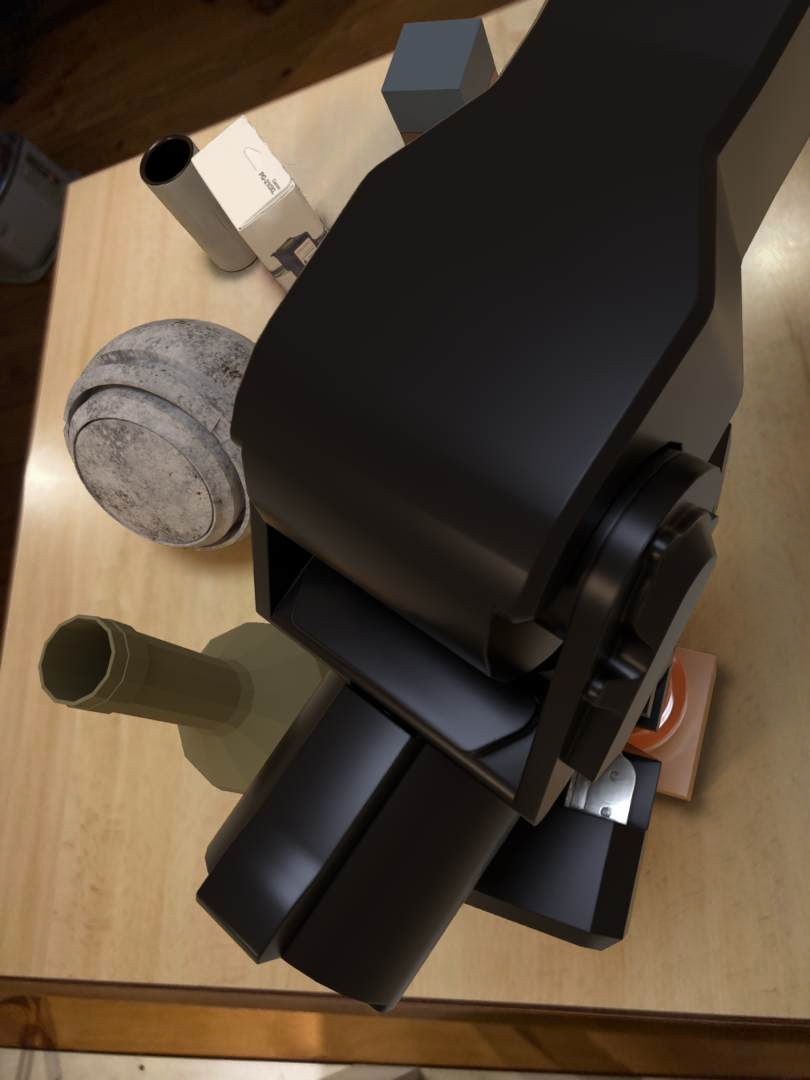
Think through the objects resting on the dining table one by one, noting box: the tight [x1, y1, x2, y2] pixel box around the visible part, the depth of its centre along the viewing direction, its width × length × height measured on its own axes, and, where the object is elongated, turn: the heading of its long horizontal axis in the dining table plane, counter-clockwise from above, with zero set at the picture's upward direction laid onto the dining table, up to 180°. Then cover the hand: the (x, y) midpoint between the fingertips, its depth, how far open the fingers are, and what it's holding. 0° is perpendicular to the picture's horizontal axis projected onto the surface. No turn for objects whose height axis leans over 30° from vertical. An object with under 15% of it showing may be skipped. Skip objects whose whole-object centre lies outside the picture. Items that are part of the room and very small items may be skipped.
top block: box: [380, 17, 496, 133], centre depth 60 cm, size 6×6×4 cm
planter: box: [138, 132, 258, 272], centre depth 64 cm, size 4×4×10 cm
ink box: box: [191, 114, 328, 293], centre depth 60 cm, size 8×5×12 cm, turn 31°
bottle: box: [37, 613, 329, 795], centre depth 37 cm, size 7×7×30 cm
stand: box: [647, 645, 717, 802], centre depth 44 cm, size 7×7×6 cm
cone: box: [627, 651, 688, 753], centre depth 36 cm, size 6×6×5 cm
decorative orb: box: [62, 318, 256, 552], centre depth 54 cm, size 15×14×15 cm
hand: (616, 683), depth 37 cm, fingers closed on cone, 5 cm apart
